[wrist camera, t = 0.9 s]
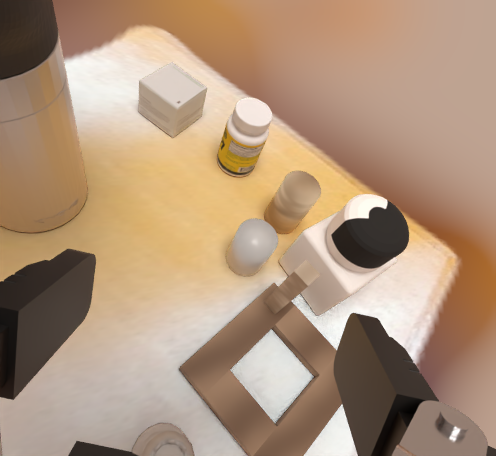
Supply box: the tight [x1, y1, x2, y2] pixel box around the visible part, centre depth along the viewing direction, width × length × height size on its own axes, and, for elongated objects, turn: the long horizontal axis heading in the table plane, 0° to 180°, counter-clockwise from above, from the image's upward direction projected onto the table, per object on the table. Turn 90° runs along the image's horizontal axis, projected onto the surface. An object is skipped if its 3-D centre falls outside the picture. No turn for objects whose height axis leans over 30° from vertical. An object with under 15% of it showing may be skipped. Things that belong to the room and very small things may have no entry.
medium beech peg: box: [264, 171, 321, 234], centre depth 39 cm, size 4×4×6 cm
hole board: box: [179, 260, 342, 456], centre depth 30 cm, size 12×12×9 cm
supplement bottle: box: [217, 98, 272, 177], centre depth 41 cm, size 5×5×8 cm
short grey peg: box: [226, 219, 278, 276], centre depth 36 cm, size 4×4×5 cm
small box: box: [138, 62, 207, 138], centre depth 43 cm, size 6×6×5 cm
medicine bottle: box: [279, 194, 409, 315], centre depth 35 cm, size 7×7×12 cm
